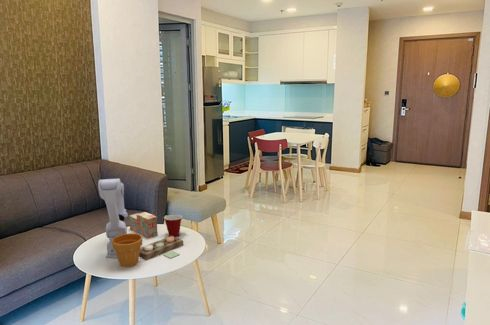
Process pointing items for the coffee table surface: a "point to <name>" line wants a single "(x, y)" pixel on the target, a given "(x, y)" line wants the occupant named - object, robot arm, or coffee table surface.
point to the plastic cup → (173, 224)
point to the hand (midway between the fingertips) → (120, 226)
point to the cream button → (148, 248)
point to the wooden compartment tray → (160, 248)
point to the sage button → (159, 244)
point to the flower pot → (127, 248)
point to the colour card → (171, 254)
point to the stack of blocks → (144, 224)
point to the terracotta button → (170, 239)
